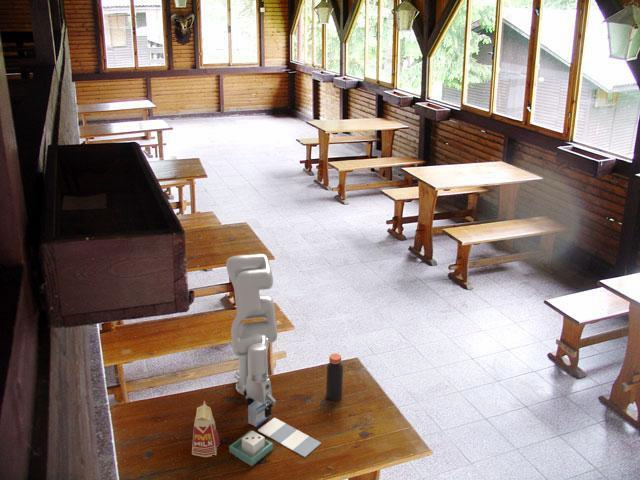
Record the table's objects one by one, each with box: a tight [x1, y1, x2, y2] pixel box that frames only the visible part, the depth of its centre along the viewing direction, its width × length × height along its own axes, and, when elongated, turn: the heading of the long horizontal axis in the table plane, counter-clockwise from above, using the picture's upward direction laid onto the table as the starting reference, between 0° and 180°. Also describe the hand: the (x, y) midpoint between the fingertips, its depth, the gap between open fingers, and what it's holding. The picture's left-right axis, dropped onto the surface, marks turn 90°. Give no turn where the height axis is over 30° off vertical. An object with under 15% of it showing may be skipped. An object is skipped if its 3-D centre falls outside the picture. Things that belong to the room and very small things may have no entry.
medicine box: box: [247, 399, 270, 428], centre depth 257 cm, size 8×4×9 cm, turn 143°
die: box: [242, 430, 266, 457], centre depth 240 cm, size 6×6×6 cm
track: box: [257, 417, 322, 458], centre depth 249 cm, size 24×10×1 cm, turn 52°
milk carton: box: [191, 400, 221, 458], centre depth 238 cm, size 9×9×20 cm
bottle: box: [325, 353, 344, 402], centre depth 270 cm, size 7×7×20 cm
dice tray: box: [228, 430, 274, 467], centre depth 241 cm, size 12×12×3 cm
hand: (259, 411), depth 255 cm, fingers open, 9 cm apart
